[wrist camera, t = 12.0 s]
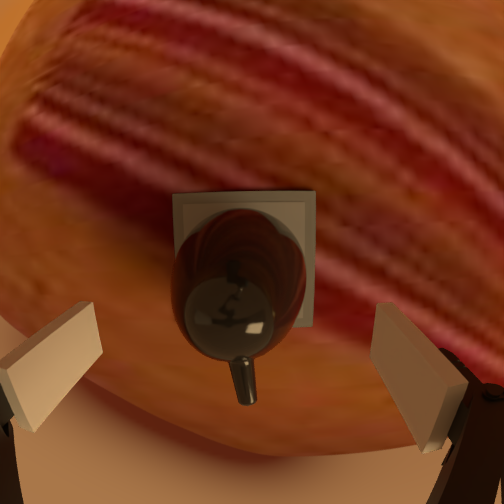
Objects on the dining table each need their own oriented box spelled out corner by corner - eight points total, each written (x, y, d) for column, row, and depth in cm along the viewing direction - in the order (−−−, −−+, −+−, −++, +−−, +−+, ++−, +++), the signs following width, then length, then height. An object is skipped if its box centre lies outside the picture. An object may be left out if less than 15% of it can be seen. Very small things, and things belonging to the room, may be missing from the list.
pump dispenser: (202, 322, 31) (159, 423, 16) (179, 216, 29) (100, 244, 14) (306, 306, 30) (342, 403, 15) (290, 196, 28) (321, 202, 13)
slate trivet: (173, 193, 29) (172, 193, 28) (314, 190, 29) (315, 191, 28) (182, 324, 31) (180, 327, 31) (311, 324, 31) (312, 327, 30)
